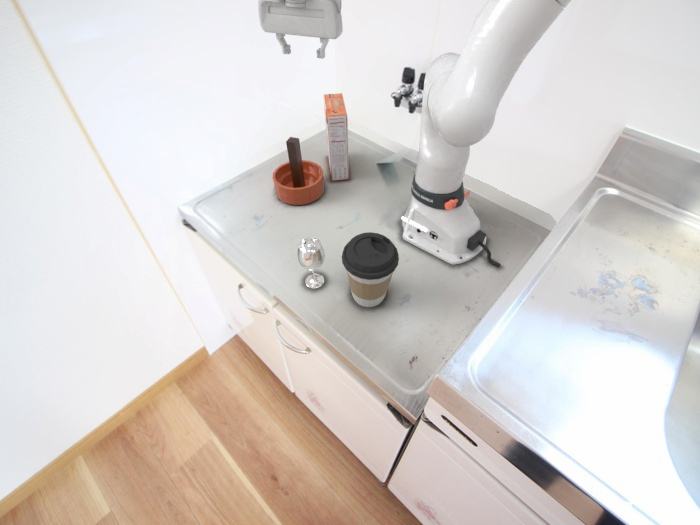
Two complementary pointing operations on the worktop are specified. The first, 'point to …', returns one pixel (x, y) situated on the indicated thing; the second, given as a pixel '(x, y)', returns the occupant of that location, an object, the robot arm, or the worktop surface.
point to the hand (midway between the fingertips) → (303, 55)
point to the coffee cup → (369, 267)
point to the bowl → (302, 194)
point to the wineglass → (311, 260)
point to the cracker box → (337, 136)
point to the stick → (295, 162)
